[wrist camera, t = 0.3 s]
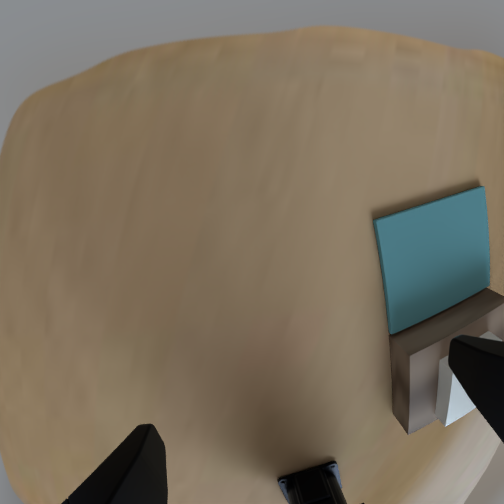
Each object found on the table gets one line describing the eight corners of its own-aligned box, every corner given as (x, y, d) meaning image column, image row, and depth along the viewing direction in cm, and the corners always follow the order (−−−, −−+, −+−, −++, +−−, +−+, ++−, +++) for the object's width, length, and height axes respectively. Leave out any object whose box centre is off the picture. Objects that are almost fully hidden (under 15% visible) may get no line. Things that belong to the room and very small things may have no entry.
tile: (480, 386, 24) (491, 396, 22) (434, 414, 23) (445, 426, 21) (488, 330, 22) (502, 340, 20) (439, 359, 22) (452, 371, 20)
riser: (479, 365, 27) (497, 379, 24) (393, 413, 27) (408, 434, 23) (486, 287, 25) (509, 299, 21) (389, 335, 24) (409, 356, 21)
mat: (486, 283, 25) (489, 285, 24) (388, 331, 24) (391, 334, 24) (480, 185, 22) (484, 186, 22) (372, 220, 22) (376, 221, 21)
